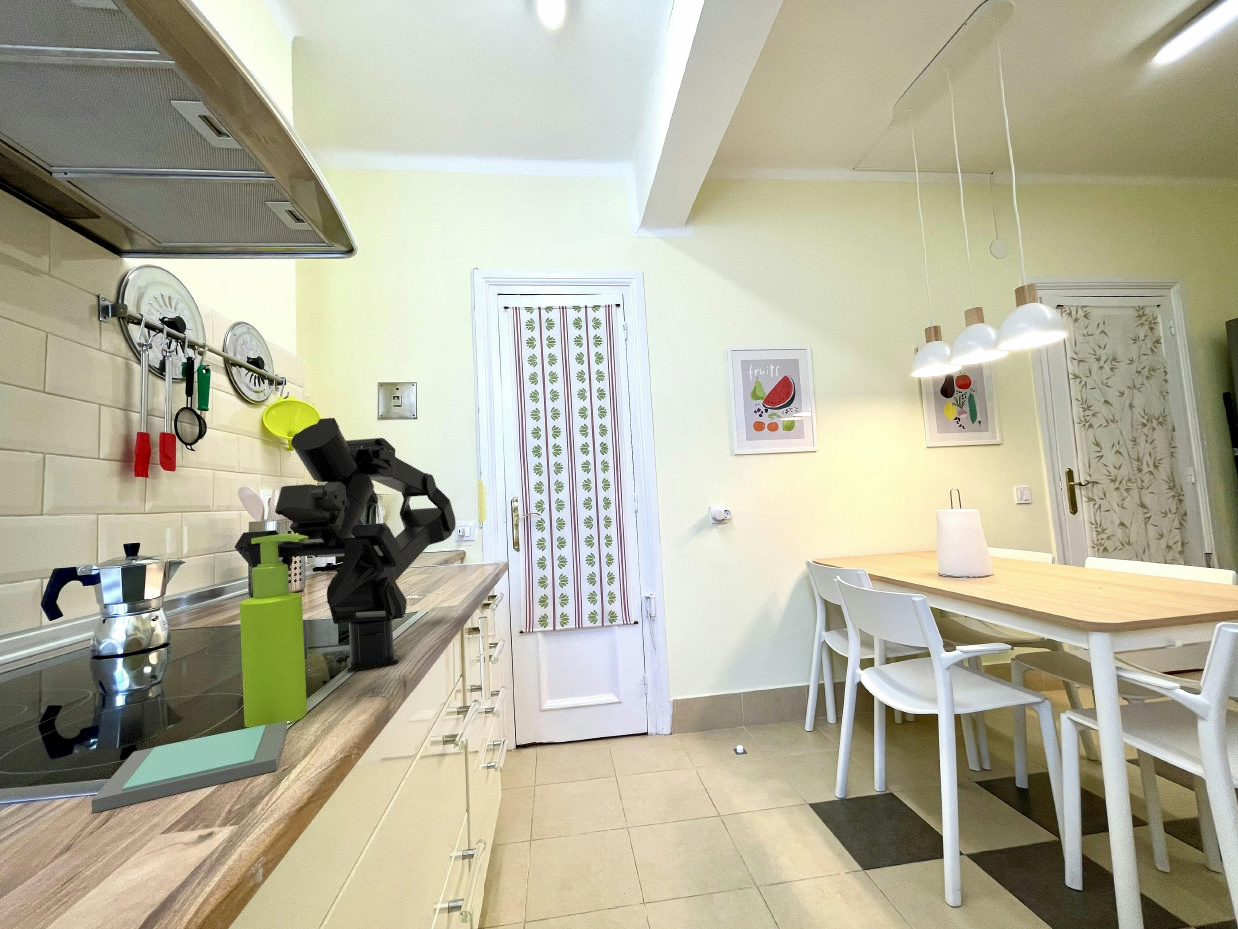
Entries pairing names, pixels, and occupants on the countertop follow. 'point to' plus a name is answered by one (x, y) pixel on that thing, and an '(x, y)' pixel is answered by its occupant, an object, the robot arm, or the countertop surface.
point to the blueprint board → (193, 765)
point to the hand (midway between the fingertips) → (291, 606)
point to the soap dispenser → (272, 641)
